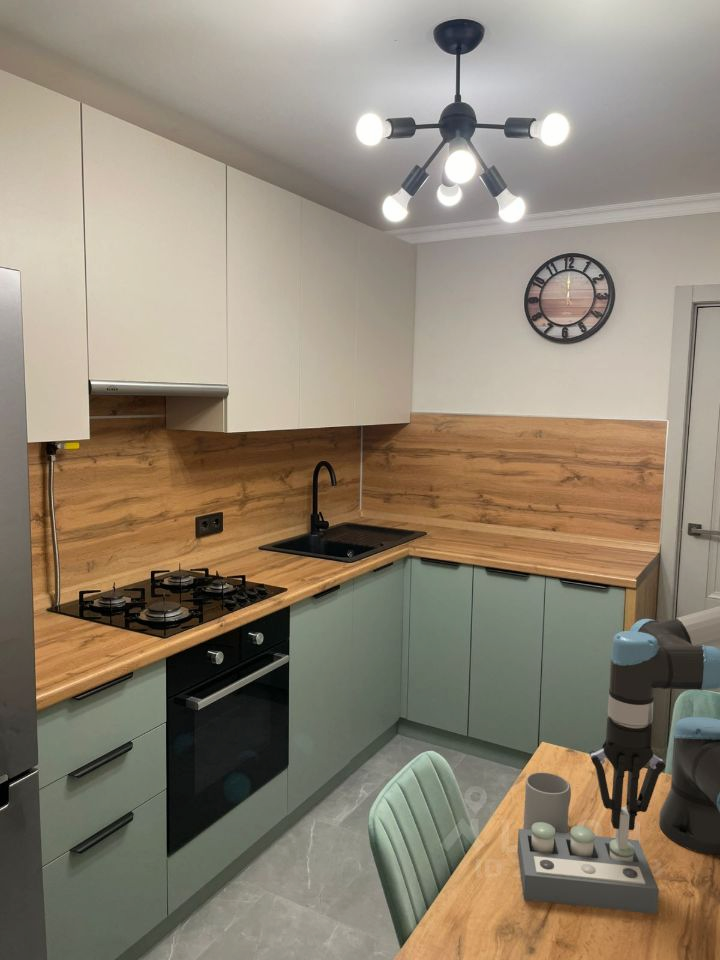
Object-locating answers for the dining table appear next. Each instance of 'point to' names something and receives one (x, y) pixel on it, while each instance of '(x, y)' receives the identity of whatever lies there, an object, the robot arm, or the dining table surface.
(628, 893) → the button board
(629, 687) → the robot arm
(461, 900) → the dining table surface
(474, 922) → the dining table surface
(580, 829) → the button mid
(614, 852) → the button
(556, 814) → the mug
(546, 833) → the button
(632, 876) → the card
